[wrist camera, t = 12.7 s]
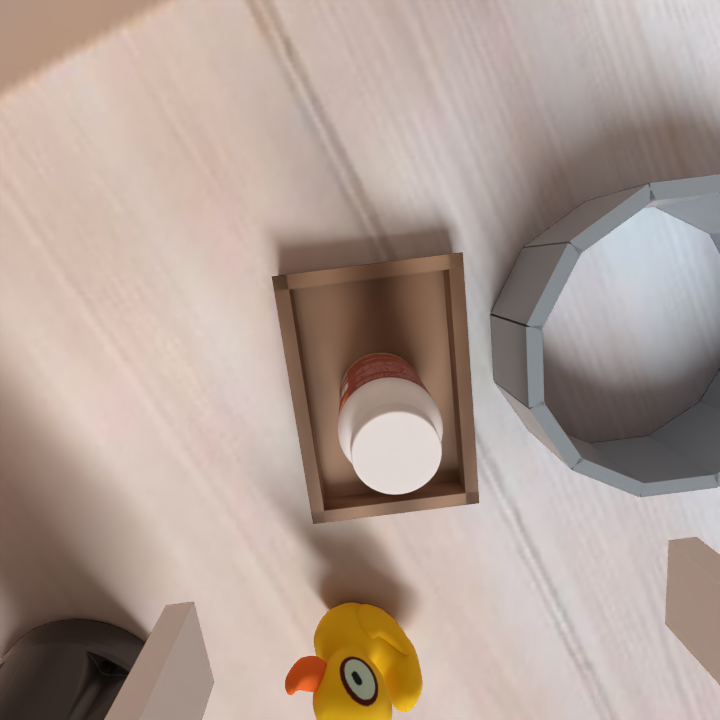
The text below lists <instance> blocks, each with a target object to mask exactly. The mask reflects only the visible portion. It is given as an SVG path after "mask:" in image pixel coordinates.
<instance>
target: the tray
mask: <svg viewBox="0 0 720 720" xmlns="http://www.w3.org/2000/svg"><path fill="white" fill-rule="evenodd" d="M272 281H273V287H274V292H275V298H276V304H277V310H278V316H279V322H280V328H281V334H282V340H283V346H284V352H285V358H286V364H287V370H288V376H289V382H290V388H291V394H292V400H293V406H294V412H295V418H296V424H297V430H298V436H299V442H300V448H301V454H302V460H303V466H304V472H305V478H306V484H307V490H308V496H309V502H310V508H311V514H312V519H313V524H317V523H325V522H333V521H341V520H349V519H357V518H364V517H372V516H380V515H388V514H396V513H404V512H412V511H420V510H428V509H436V508H444V507H452V506H460V505H468V504H476V503H479V492H478V477H477V462H476V447H475V432H474V417H473V402H472V387H471V372H470V356H469V341H468V326H467V311H466V296H465V281H464V266H463V252H461V253H453V254H446V255H438V256H430V257H422V258H414V259H406V260H398V261H390V262H382V263H374V264H367V265H359V266H351V267H343V268H335V269H327V270H319V271H311V272H303V273H296V274H288V275H280V276H272ZM374 353H388V354H393V355H396V356H398V357H400V358H402V359H403V360H405V361H406V362H407V363H408V364H409V365H411V367H412V368H413V369H414V370H415V372H416V373H417V375H418V376H419V378H420V380H421V381H422V383H423V384H424V386H425V387H426V389H427V390H428V392H429V393H430V395H431V396H432V398H433V399H434V401H435V403H436V405H437V407H438V409H439V411H440V414H441V418H442V423H443V435H442V441H441V446H442V456H441V461H440V464H439V467H438V469H437V471H436V473H435V474H434V476H433V477H432V478H431V479H430V480H429V481H428V482H427V483H426V484H424V485H423V486H422V487H420V488H418V489H416V490H414V491H412V492H409V493H404V494H386V493H382V492H379V491H376V490H374V489H372V488H371V487H369V486H367V485H366V484H365V483H364V482H363V481H362V480H361V479H360V478H359V476H358V475H357V473H356V472H355V470H354V467H353V464H352V463H351V462H350V461H349V460H348V458H347V457H346V456H345V454H344V452H343V450H342V448H341V445H340V442H339V437H338V414H339V396H340V386H341V382H342V379H343V377H344V375H345V373H346V371H347V370H348V369H349V368H350V366H351V365H352V364H353V363H355V362H356V361H357V360H359V359H360V358H362V357H364V356H366V355H370V354H374Z"/></svg>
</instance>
